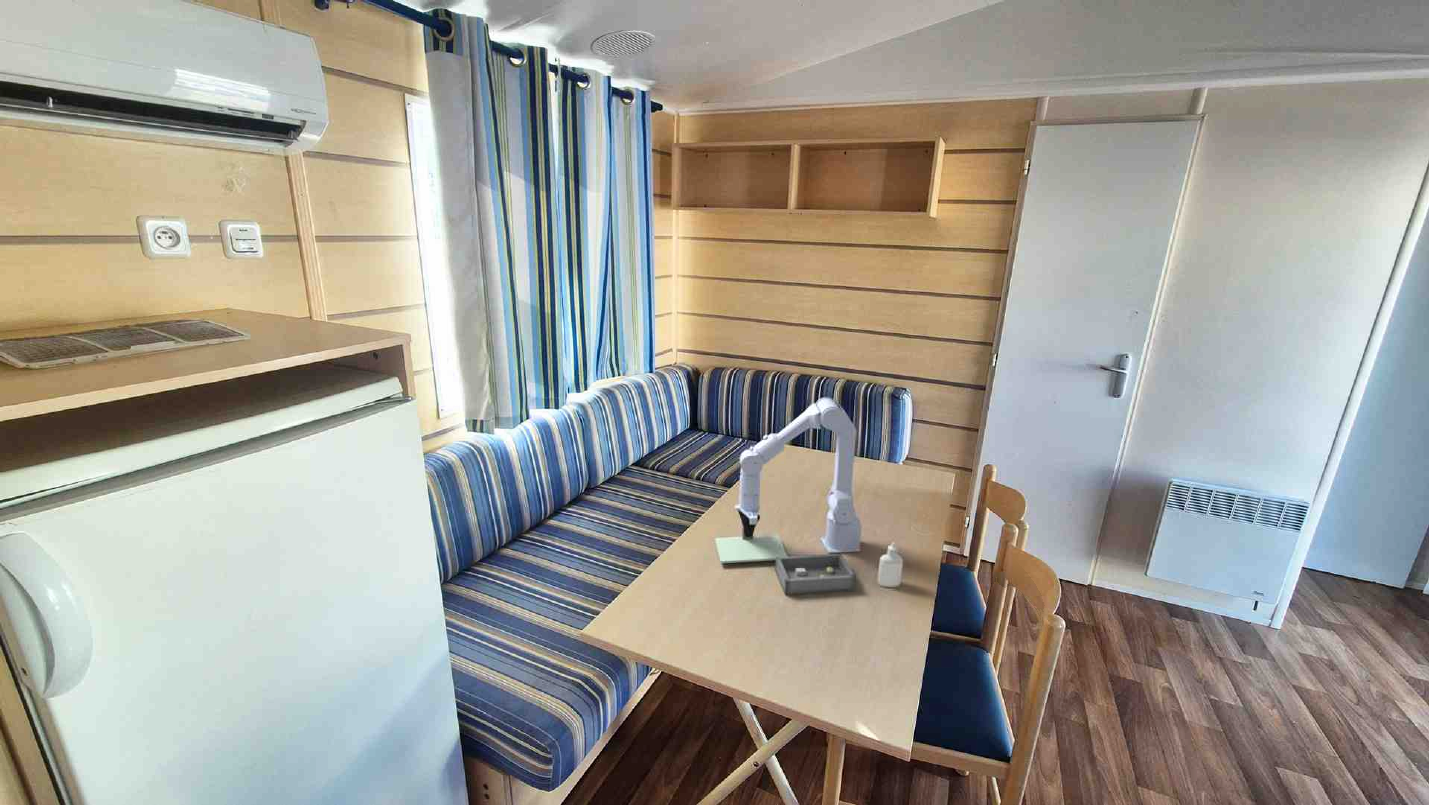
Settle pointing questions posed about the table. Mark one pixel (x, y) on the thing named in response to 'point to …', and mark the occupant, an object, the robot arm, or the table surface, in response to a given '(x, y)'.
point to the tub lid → (749, 548)
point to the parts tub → (814, 574)
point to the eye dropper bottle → (890, 568)
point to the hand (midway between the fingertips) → (748, 534)
